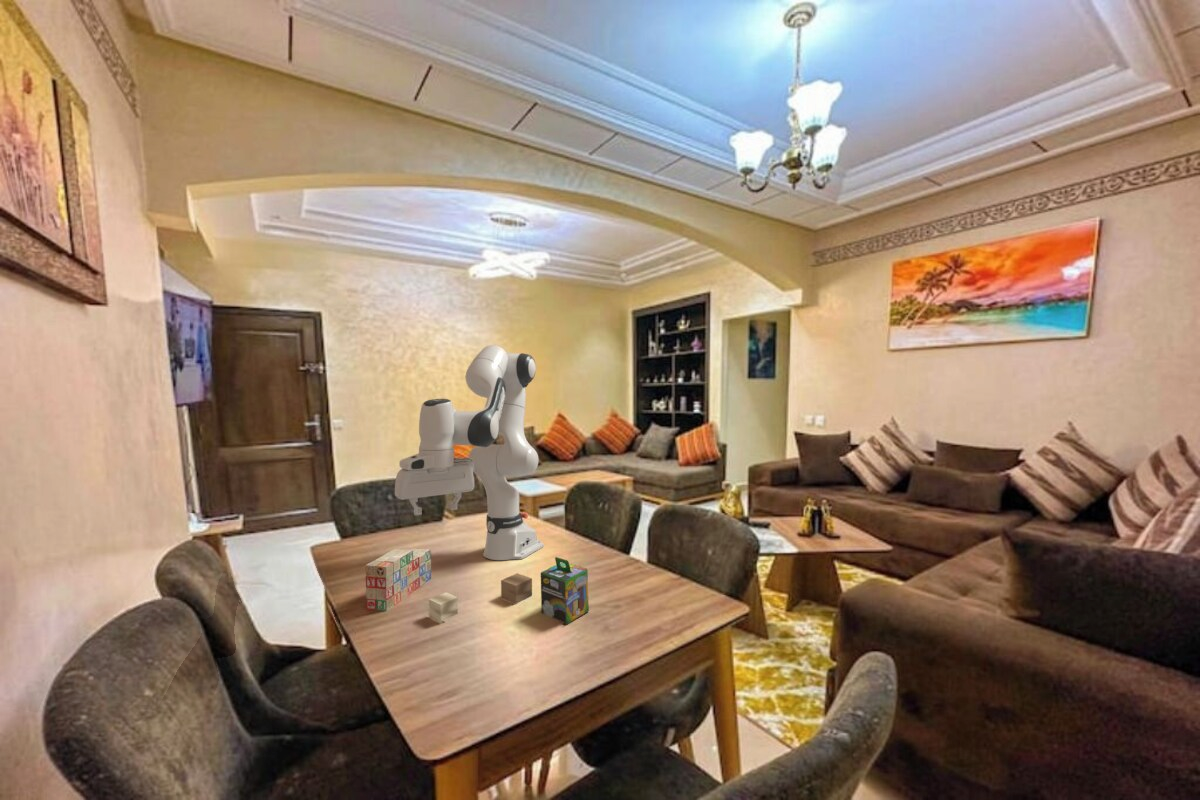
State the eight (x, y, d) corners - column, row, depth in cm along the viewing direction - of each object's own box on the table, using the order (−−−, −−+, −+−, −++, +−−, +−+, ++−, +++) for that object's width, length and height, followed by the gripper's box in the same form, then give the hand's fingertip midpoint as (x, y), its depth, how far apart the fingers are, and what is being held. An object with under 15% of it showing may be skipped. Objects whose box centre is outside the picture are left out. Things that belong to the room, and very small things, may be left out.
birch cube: (446, 610, 121) (445, 592, 121) (457, 616, 118) (457, 597, 118) (429, 618, 117) (429, 599, 117) (440, 624, 114) (440, 604, 114)
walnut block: (517, 590, 131) (517, 573, 131) (532, 595, 128) (531, 578, 128) (501, 598, 127) (501, 580, 126) (516, 604, 123) (516, 585, 123)
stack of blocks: (413, 577, 143) (413, 538, 142) (431, 578, 141) (431, 539, 141) (365, 609, 122) (365, 564, 121) (386, 612, 120) (385, 566, 120)
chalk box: (589, 612, 120) (589, 556, 120) (565, 626, 113) (565, 567, 112) (563, 601, 126) (563, 548, 125) (539, 614, 119) (539, 558, 118)
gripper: (469, 456, 130) (468, 504, 130) (393, 461, 117) (392, 515, 117) (478, 458, 125) (478, 508, 125) (400, 464, 112) (399, 520, 112)
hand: (436, 512), depth 121 cm, fingers open, 8 cm apart
